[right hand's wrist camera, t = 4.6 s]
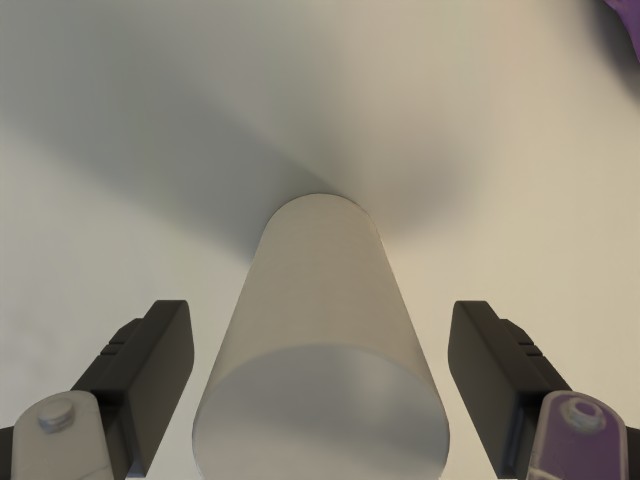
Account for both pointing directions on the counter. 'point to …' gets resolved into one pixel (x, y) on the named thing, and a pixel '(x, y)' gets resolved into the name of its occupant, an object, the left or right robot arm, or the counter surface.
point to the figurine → (629, 19)
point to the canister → (320, 362)
